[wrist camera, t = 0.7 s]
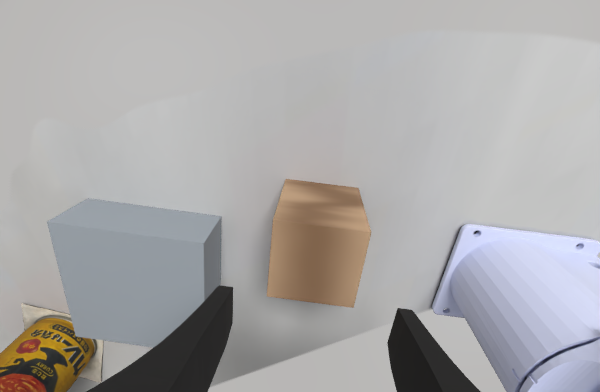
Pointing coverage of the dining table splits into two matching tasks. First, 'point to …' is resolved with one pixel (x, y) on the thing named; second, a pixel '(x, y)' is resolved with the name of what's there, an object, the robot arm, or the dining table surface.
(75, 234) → the slate box
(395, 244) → the dining table surface
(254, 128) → the dining table surface
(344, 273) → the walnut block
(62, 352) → the condiment
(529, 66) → the dining table surface
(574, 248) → the robot arm
